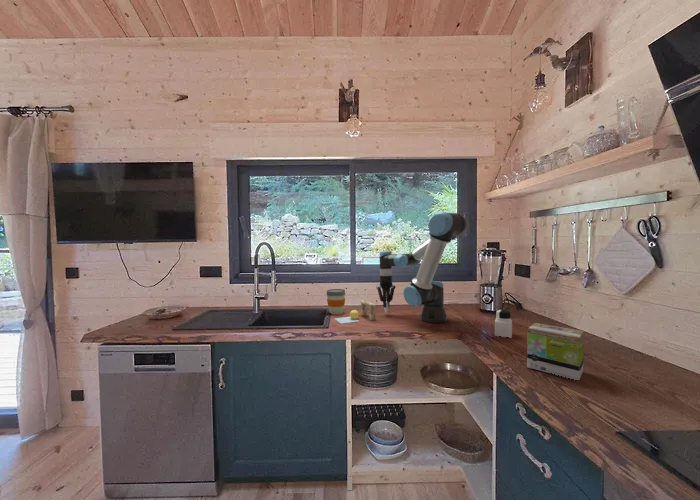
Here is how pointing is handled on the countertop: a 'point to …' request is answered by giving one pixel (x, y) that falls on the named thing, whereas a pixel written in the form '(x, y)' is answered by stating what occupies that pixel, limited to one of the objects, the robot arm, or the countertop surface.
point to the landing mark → (346, 320)
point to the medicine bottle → (503, 324)
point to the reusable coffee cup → (336, 300)
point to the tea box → (555, 350)
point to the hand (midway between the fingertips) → (386, 312)
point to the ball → (354, 314)
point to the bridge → (371, 309)
